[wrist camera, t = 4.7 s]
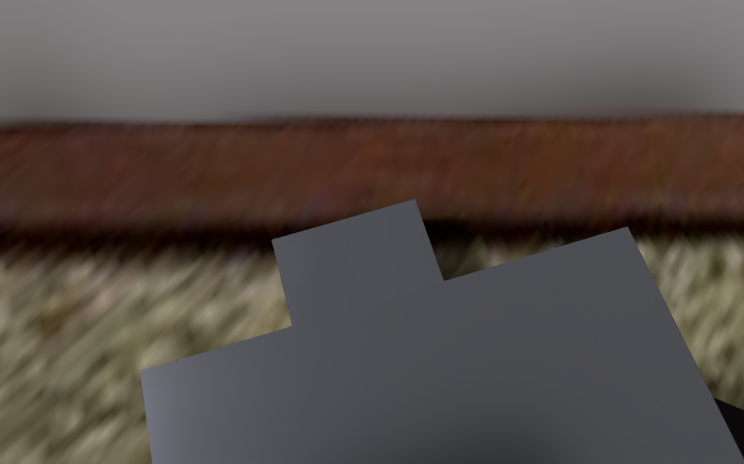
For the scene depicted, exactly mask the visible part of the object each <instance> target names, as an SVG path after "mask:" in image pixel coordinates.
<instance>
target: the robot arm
mask: <svg viewBox="0 0 744 464" xmlns="http://www.w3.org/2000/svg"><path fill="white" fill-rule="evenodd" d="M713 399H714V401H715V403H716V405H717V407H718V409H719V411H720V413H721V415H722V417H723V419H724V421H725V423H726V425H727V426H728V428H729V430H730V432H731V434H732V436H733V438H734V440H735V442H736V444H737V446H738V448H739V450H740V452H741V454H742V456H743V458H744V410H742V409H740V408H737V407H735V406H733V405H730V404H728V403H725V402H723V401H721V400H718V399H716V398H713Z"/></svg>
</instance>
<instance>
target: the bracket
mask: <svg viewBox="0 0 744 464" xmlns="http://www.w3.org/2000/svg"><path fill="white" fill-rule="evenodd" d="M272 243H273V247H274V251H275V255H276V260H277V264H278V268H279V272H280V276H281V280H282V285H283V289H284V293H285V297H286V301H287V306H288V310H289V314H290V318H291V322H292V326H291V327H288V328H284V329H281V330H278V331H274V332H271V333H267V334H264V335H261V336H257V337H254V338H251V339H247V340H244V341H240V342H237V343H234V344H230V345H227V346H224V347H220V348H217V349H213V350H210V351H207V352H203V353H200V354H197V355H193V356H190V357H187V358H183V359H180V360H176V361H173V362H170V363H166V364H163V365H160V366H156V367H153V368H149V369H146V370H143V371H140V373H141V380H142V388H143V396H144V403H145V411H146V418H147V426H148V433H149V441H150V449H151V456H152V464H744V458H743V456H742V454H741V452H740V450H739V448H738V446H737V444H736V442H735V440H734V438H733V436H732V434H731V432H730V430H729V428H728V426H727V425H726V423H725V421H724V419H723V417H722V415H721V413H720V411H719V409H718V407H717V405H716V403H715V401H714V399H713V397H712V395H711V393H710V391H709V389H708V387H707V385H706V383H705V381H704V379H703V377H702V375H701V373H700V371H699V369H698V367H697V365H696V363H695V361H694V359H693V357H692V355H691V353H690V351H689V349H688V347H687V345H686V343H685V341H684V339H683V337H682V335H681V333H680V331H679V329H678V327H677V325H676V323H675V321H674V319H673V317H672V315H671V313H670V311H669V309H668V307H667V305H666V303H665V301H664V299H663V297H662V295H661V293H660V291H659V289H658V287H657V285H656V283H655V281H654V279H653V277H652V275H651V273H650V271H649V269H648V267H647V265H646V263H645V261H644V259H643V257H642V255H641V253H640V251H639V249H638V247H637V245H636V243H635V241H634V239H633V237H632V235H631V233H630V231H629V229H628V227H625V228H622V229H618V230H615V231H611V232H608V233H605V234H601V235H598V236H595V237H591V238H588V239H585V240H581V241H578V242H574V243H571V244H568V245H564V246H561V247H558V248H554V249H551V250H547V251H544V252H541V253H537V254H534V255H531V256H527V257H524V258H520V259H517V260H514V261H510V262H507V263H504V264H500V265H497V266H493V267H490V268H487V269H483V270H480V271H477V272H473V273H470V274H466V275H463V276H460V277H456V278H453V279H450V280H446V281H444V280H443V277H442V274H441V272H440V269H439V266H438V263H437V260H436V257H435V255H434V252H433V249H432V246H431V243H430V240H429V238H428V235H427V232H426V229H425V226H424V223H423V221H422V218H421V215H420V212H419V209H418V206H417V204H416V201H415V199H413V200H410V201H406V202H403V203H400V204H396V205H393V206H389V207H386V208H382V209H379V210H375V211H372V212H368V213H365V214H361V215H358V216H354V217H351V218H347V219H344V220H340V221H337V222H333V223H330V224H326V225H323V226H319V227H316V228H312V229H309V230H305V231H302V232H298V233H295V234H291V235H288V236H284V237H281V238H277V239H274V240H272Z"/></svg>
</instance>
